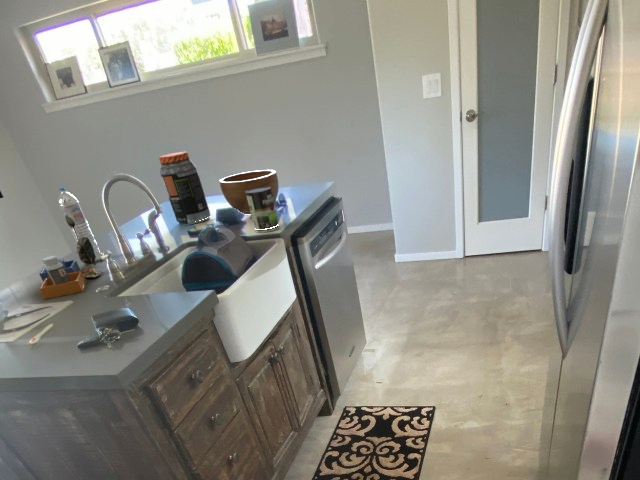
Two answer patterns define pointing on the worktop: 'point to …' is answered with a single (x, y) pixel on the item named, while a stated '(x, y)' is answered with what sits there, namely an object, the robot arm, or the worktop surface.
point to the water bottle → (77, 219)
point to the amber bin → (63, 286)
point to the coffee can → (262, 209)
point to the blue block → (63, 263)
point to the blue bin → (71, 268)
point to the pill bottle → (56, 270)
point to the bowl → (247, 187)
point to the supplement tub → (184, 188)
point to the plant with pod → (85, 252)
